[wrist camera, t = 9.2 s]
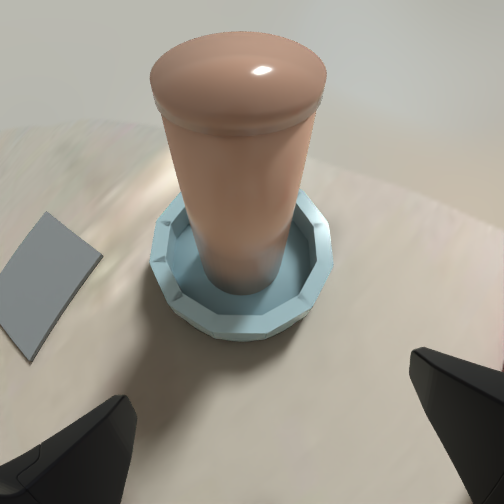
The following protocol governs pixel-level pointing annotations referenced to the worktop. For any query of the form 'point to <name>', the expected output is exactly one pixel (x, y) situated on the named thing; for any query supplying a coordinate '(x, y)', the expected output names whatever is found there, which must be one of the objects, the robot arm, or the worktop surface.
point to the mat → (42, 282)
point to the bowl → (242, 306)
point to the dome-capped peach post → (239, 145)
